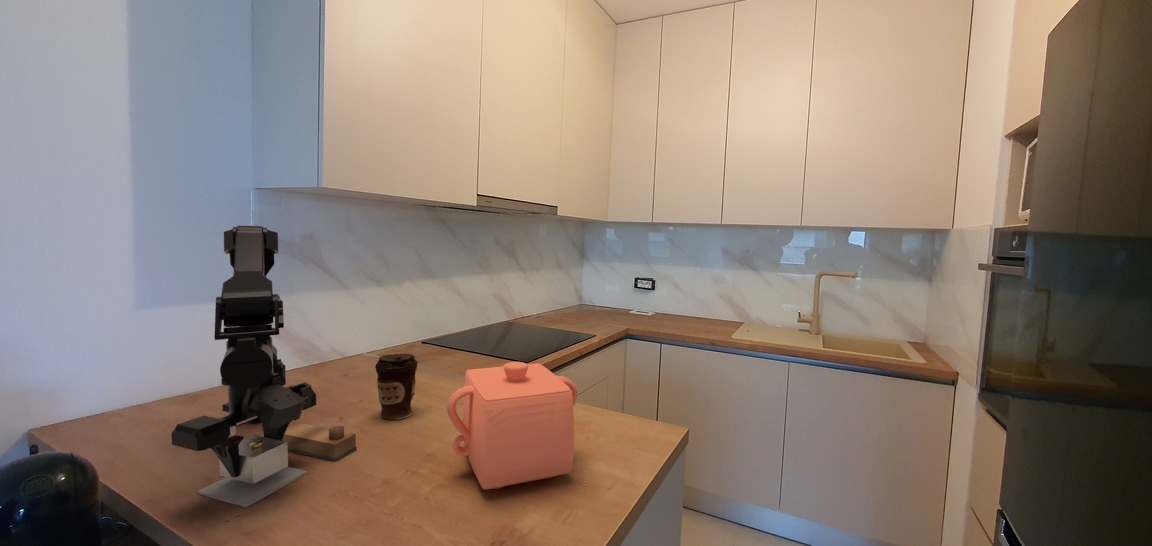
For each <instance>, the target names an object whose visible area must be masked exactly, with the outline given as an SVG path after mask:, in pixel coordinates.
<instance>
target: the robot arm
mask: <svg viewBox="0 0 1152 546" xmlns="http://www.w3.org/2000/svg"><path fill="white" fill-rule="evenodd" d="M223 252H224V254H225V255H229V264H230V266H231V267H232V269H233V273H232V274H233V275H232V276H231V277H230V278H229V279H227V280H225V281H224V282H223V283H222V288H221V296H216V298H215V311H214V313H215V314H214V341H218V340H221V341H222V340H226V342H225V346H226V347H225V348H226V351H225V354H224V356H223V359H222V360H221V361H222V362H221V365H220V367H219V373H220V377H221V379H220V381H221V385H222V386H226V387H227V394H228V395H227V397H228V400H227V401H228V402H226V403H224V404H222V407H221V408H222V412H226V413H228V415H225V416H223V417H221V418H217V417H213V416H209V415H208V416H207V415H201V416H198V417H195V418H192V419H189V420H185V421H184V422H180V423H178V424H176V425H175V427H174V428H173V430H171V445H172V446H173V447H174V446H175V447H179V448H182V449H186V450H187V449H188V450H192V451H195V452H201V451H206V450H208V449H210V450H211V451H213V452H214V454H215V455H216V456H217V458H218V460H219V459H220V461H221V462H222V464H223V465H224V466H225V468H226V469H227V471H228V472H229V474H230V475H231V476H232V477H235V478H236V477H238V476H239V467H240V466H239V444H240V442H241V441H242V440H244V438H245V436H242V435H238V433H237V427H239V426H241V425H243V424H246V423H251V424H259V423H261V425H262V431H263V433H262V434H263V437H267V438H272V439H276V440H281V441H282V439H283V436H284V434H285V431H286V429H287V427H288V425H289V424H290V423H291V422H292V421H293V422H296V421H298V420H299V419H300V417H301V415H302V414H303V412H302V411H305V410H308V409H309V408H313V407H315V406H317V401H318V400H317V393H316V392H315V391H314V389H313V388H312V385H311V384H309V383H308V382H306V381H304V382H301V383H298V384H296V385H289V386H287V387H285V385H287V383H286V382H287V381H286V365H285V364H284V363H283V361H282V358H278V350H277V347H275V345H274V344H273V337H272V336H279V335H280V329H284V327H285V325H284V324H285V323H284V319H285V318H284V301H283V300H282V299H281V298H280V295H279V294H278V293H277V294H275V293H274V294H273V281H272V280H270V279H269V278H268V277H267V275H268V274H269V272H270V271H271V269H272V268H273V267H274V265H275V255H279V233H278V232H276V231H272V230H269V229H268V227H264V226H262V225H236V226H232V229H229V230H225V231H223ZM273 324H274V327H273ZM222 326H223V331H222Z"/></svg>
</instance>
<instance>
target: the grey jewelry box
mask: <svg viewBox="0 0 1152 546" xmlns="http://www.w3.org/2000/svg"><path fill="white" fill-rule="evenodd" d="M288 453H289V451H288V448H287V442H285V441H281V440H276V439H272V438H267V437H264V436H261V435H257V434H254V435H251V436H248V437H247V438H245V439H244V438H243V440H242V441H241V442H240V444H239V466H240V467H239V476H238V477H236V478H235V477H232V476H231V475H230V474H229V472H228V471H227V469H226V468H225V466H224V465H223V464H222V462H221V461H220V459H219V458H218V461H219V476H223V477H224V478H226V477H229V478H232V479H236V480H240V481H244V482H247V483H251V484H255V483H257V482H258V481H260V480H262V479H264V478H266V477H268V476H270V475H272V474H274V473H276V472H278V471H280V470H282V469H284V468H285V467H289V454H288Z"/></svg>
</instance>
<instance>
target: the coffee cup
mask: <svg viewBox="0 0 1152 546" xmlns="http://www.w3.org/2000/svg"><path fill="white" fill-rule="evenodd" d="M415 357H416V356H415V355H414V354H412V353H394V354H384V355H381V356H379V357H378V360H377V363H376V364H375V367H374V368H375V373H376V374H377V379H376V380H377V381H376V384H377V391H378V392H377V394H378V395H377V396H378V402H379V404H380V407H381V413H380V417H381V418H382V419H385V420H402V419H406V418H409V417H411V416H412V415H413V410H412V407H411V405H412V401H413V396H415V391H416V390H415V389H416V372H417V369H418V363H419V362H418V361H417V360H416V359H415Z"/></svg>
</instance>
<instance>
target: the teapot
mask: <svg viewBox="0 0 1152 546" xmlns="http://www.w3.org/2000/svg"><path fill="white" fill-rule="evenodd" d="M464 377H465V378H464V379H465V380H464V386H462V387H460V388H459V389H457V390H455V391H454V392H453V393H452V395H451V396H450V397H449V399H448V401H447V403H446V404H447V405H446V410H447V415H448V417H449V420H450V422H451V423H452V424H453V426H454V427H455V429H456V430H457V431H458V432H459V433H460V435H458V436H456V437H455V438H454V440H453V443H452V449H453V451H454V453H455V455H457V456H459V457H467V458H468V461H469V464H470V466H471V468H472V471H473V472H474V474H475V477H476V480H477V481H478V483H479V484H480V487H481V489H483V490H484V491H485V490H490V489H491V490H492V489H493V490H497V489H501V488H504V487H507V486H513V485H518V484H521V483H522V484H523V483H528V482H533V481H538V480H543V479H552V478H554V477H557V476H562V475H567V474H571V473H572V472H573V467H574V466H573V465H574V458H575V457H574V455H575V428H574V427H575V425H574V419H575V418H574V407H575V404H576V403H577V399H578V389H577V386H576V385H575V383H574V382H573V381H572V380H571V379H569V378H567V377H566V376H563V375H556V374H554V372H552V371H551V370H549V369H548V368H547V367H545V366H544V365H543V364H540V363H525V362H521V361H510V362H506V363H504V364H503V365H501V366H494V367H493V366H492V367H491V366H490V367H483V368H482V367H481V368H474V369H473V368H471V369H466V371H465V376H464ZM462 399H463V407H462V408H463V410H462V411H463V412H462V420H461V418H460V416H459V415H458V412H457V410H456V409H457V408H456V406H457V403H458V402H459V401H460V400H462ZM462 442H463V444H464V446H461V445H460V443H462Z"/></svg>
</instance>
